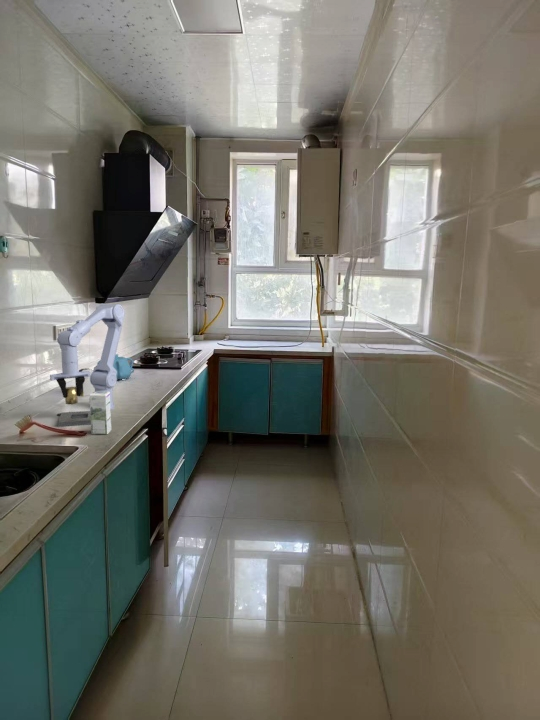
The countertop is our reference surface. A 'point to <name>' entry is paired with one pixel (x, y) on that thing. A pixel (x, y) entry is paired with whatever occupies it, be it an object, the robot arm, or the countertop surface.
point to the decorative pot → (122, 367)
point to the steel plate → (75, 418)
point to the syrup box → (100, 412)
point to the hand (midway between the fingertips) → (71, 396)
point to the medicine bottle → (86, 384)
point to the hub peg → (71, 395)
